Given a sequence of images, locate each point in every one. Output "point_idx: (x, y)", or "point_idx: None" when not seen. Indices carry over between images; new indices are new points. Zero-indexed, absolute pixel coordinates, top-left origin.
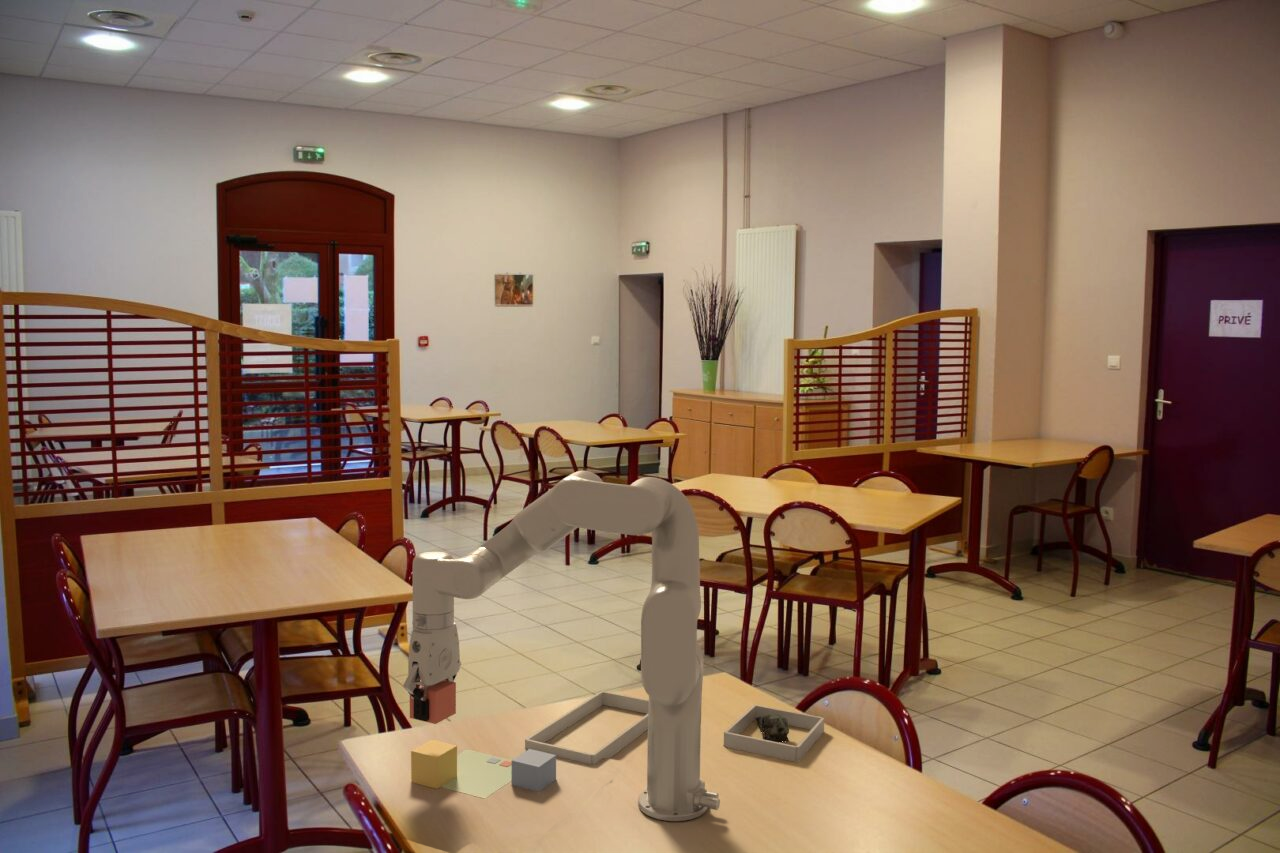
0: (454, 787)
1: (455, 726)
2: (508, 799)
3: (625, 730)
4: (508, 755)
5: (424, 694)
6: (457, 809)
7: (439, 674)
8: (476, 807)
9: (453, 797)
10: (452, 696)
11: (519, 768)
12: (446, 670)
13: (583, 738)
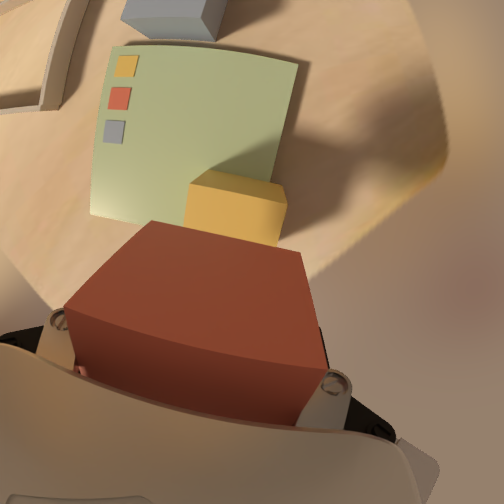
0: (264, 149)
1: (36, 277)
2: (255, 33)
3: (4, 2)
4: (71, 133)
5: (341, 401)
6: (330, 115)
7: (266, 498)
8: (311, 80)
9: (280, 144)
10: (138, 267)
11: (210, 4)
12: (122, 478)
13: (4, 66)
